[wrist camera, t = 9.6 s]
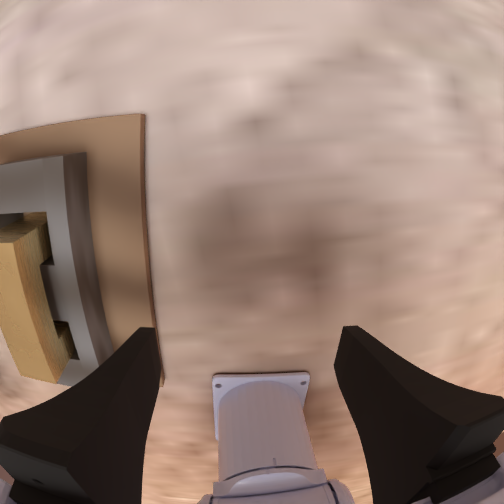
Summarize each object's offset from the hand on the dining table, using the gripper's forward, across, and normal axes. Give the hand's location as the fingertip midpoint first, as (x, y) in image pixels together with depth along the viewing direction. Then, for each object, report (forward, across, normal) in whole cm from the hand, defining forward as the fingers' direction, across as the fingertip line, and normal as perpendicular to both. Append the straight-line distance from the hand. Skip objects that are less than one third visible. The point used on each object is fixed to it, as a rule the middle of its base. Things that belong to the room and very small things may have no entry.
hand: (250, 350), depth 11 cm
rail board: (+9, +13, +1) cm, 16 cm away
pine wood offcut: (+8, +13, +1) cm, 15 cm away
